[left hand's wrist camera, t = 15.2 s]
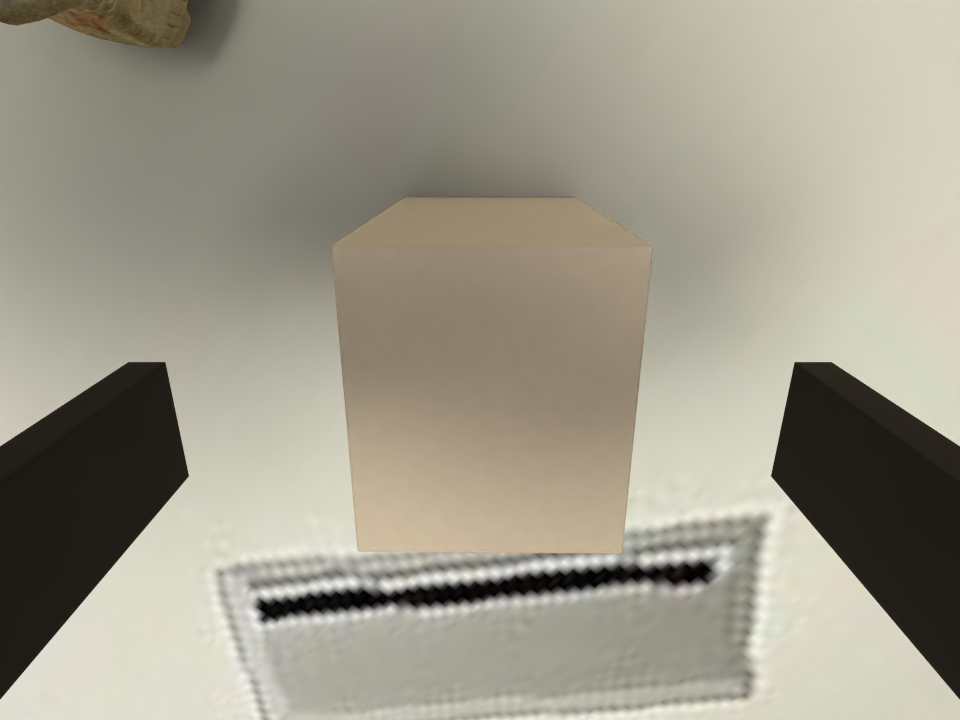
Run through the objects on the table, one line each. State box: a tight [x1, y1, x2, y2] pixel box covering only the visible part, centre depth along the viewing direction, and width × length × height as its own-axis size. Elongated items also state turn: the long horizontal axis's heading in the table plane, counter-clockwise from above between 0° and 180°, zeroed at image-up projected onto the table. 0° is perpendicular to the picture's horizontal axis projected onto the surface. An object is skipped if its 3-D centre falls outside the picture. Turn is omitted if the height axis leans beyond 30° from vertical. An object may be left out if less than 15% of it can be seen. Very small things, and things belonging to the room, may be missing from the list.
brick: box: [331, 197, 653, 553], centre depth 19 cm, size 8×7×12 cm
